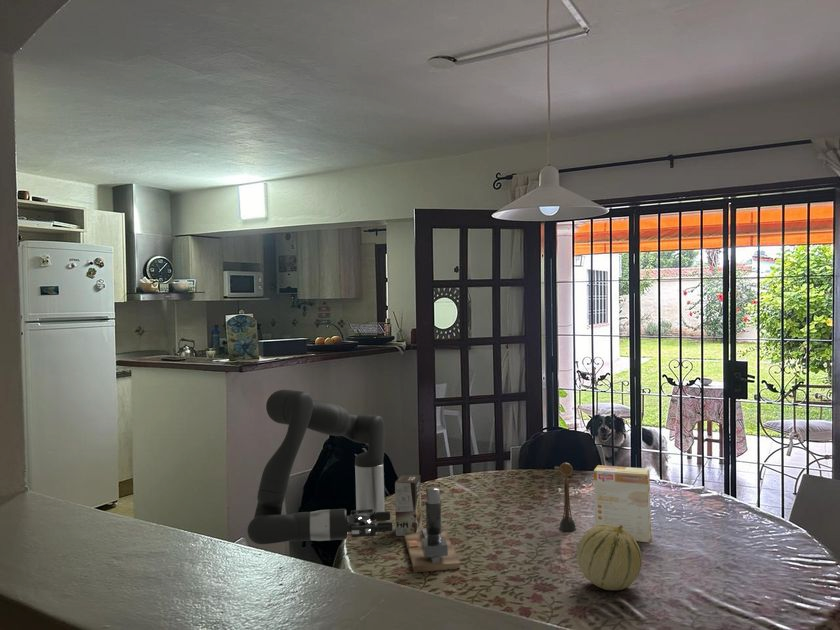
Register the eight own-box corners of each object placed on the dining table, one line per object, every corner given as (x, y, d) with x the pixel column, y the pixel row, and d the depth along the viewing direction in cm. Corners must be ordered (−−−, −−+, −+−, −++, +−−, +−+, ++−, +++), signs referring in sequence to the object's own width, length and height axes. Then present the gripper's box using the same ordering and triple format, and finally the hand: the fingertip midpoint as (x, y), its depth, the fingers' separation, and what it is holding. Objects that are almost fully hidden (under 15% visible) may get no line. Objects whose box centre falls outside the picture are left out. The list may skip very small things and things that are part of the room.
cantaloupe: (569, 576, 155) (568, 515, 155) (626, 572, 156) (625, 512, 156) (590, 603, 140) (589, 537, 140) (653, 599, 142) (652, 533, 141)
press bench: (404, 538, 183) (404, 528, 183) (444, 535, 185) (444, 525, 185) (414, 572, 160) (413, 560, 160) (460, 568, 161) (459, 557, 161)
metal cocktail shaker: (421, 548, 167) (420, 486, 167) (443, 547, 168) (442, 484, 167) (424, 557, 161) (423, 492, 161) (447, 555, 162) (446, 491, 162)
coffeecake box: (651, 535, 181) (650, 468, 181) (649, 543, 175) (647, 474, 175) (598, 528, 188) (597, 464, 188) (594, 536, 181) (593, 469, 181)
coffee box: (416, 537, 184) (415, 482, 184) (395, 536, 186) (393, 482, 186) (422, 526, 193) (421, 474, 193) (402, 525, 195) (401, 474, 195)
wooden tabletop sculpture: (554, 529, 188) (552, 463, 188) (558, 524, 192) (556, 459, 192) (573, 532, 185) (572, 465, 185) (577, 527, 189) (575, 461, 189)
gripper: (327, 519, 154) (393, 515, 156) (328, 502, 168) (388, 498, 170) (328, 549, 154) (393, 545, 156) (329, 530, 168) (389, 526, 170)
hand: (391, 520), depth 163 cm, fingers open, 8 cm apart
